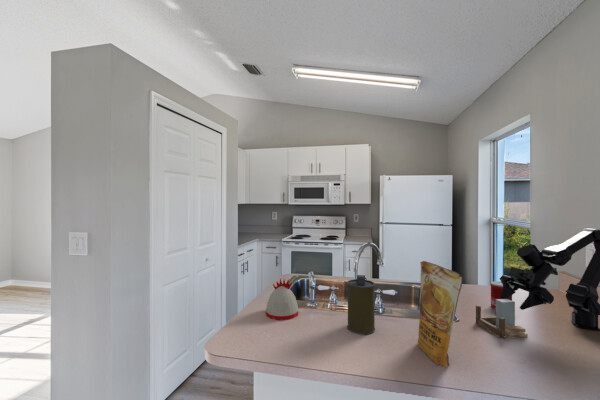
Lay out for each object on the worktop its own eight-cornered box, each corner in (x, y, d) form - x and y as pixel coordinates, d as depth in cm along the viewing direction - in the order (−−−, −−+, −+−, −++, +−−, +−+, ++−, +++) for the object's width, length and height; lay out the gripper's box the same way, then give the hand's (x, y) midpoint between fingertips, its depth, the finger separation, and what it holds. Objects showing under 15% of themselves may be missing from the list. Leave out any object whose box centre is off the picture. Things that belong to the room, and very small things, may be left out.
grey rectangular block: (507, 327, 111) (507, 298, 111) (514, 331, 108) (514, 301, 108) (495, 328, 110) (495, 299, 110) (502, 331, 107) (502, 302, 107)
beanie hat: (297, 320, 117) (297, 283, 117) (263, 320, 117) (263, 283, 117) (298, 307, 131) (298, 274, 131) (268, 307, 131) (268, 274, 131)
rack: (503, 321, 116) (503, 304, 116) (532, 337, 103) (532, 317, 103) (475, 323, 115) (475, 305, 115) (501, 338, 102) (501, 318, 102)
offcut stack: (519, 333, 106) (519, 324, 106) (528, 337, 103) (528, 329, 103) (502, 333, 105) (502, 325, 105) (510, 338, 102) (510, 330, 102)
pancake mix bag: (429, 339, 101) (429, 259, 101) (464, 371, 82) (464, 273, 82) (410, 340, 101) (411, 259, 101) (442, 372, 82) (442, 273, 82)
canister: (375, 336, 104) (376, 280, 104) (346, 333, 106) (346, 278, 106) (374, 323, 114) (374, 273, 114) (347, 321, 116) (347, 271, 116)
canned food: (511, 312, 126) (511, 287, 126) (490, 308, 131) (490, 283, 131) (512, 307, 132) (512, 283, 132) (491, 303, 137) (491, 280, 137)
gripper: (503, 255, 119) (478, 282, 118) (546, 265, 101) (517, 297, 99) (521, 274, 120) (496, 301, 119) (567, 287, 101) (538, 320, 100)
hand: (510, 304), depth 109 cm, fingers open, 9 cm apart
